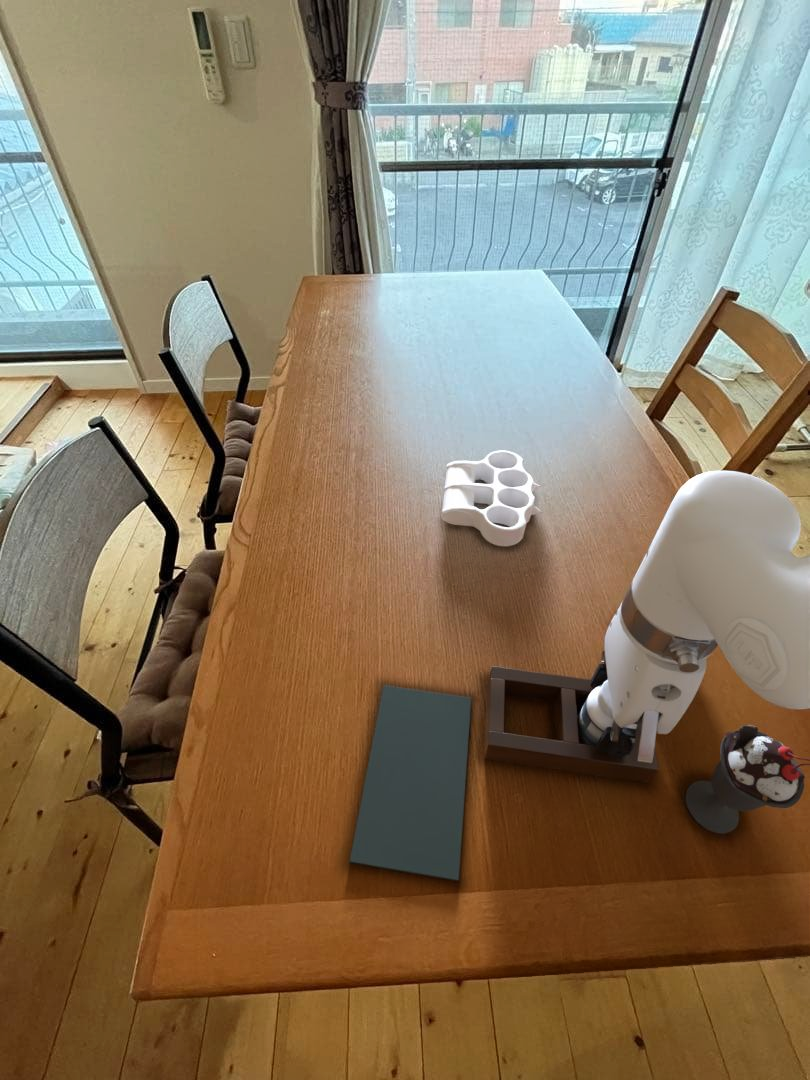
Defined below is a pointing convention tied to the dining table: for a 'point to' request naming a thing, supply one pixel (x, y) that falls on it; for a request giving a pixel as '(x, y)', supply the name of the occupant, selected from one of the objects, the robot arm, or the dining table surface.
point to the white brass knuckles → (490, 496)
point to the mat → (415, 785)
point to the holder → (566, 746)
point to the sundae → (746, 780)
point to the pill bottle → (596, 716)
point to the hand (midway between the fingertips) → (608, 716)
